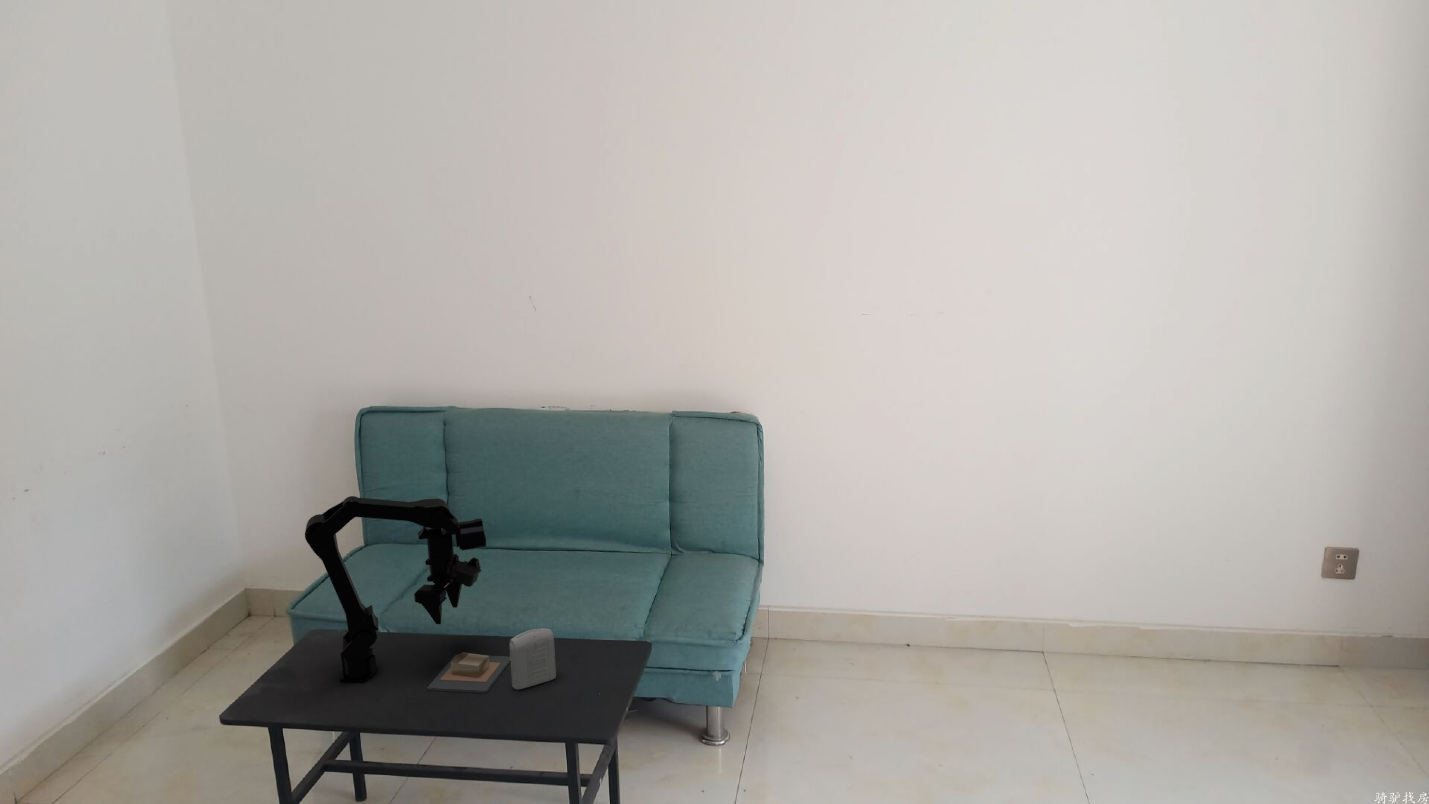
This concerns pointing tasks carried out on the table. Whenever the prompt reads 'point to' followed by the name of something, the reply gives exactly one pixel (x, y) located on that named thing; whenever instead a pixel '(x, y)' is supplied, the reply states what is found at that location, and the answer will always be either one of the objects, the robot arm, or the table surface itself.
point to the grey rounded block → (532, 658)
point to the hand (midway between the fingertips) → (447, 615)
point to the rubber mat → (470, 678)
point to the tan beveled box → (470, 665)
